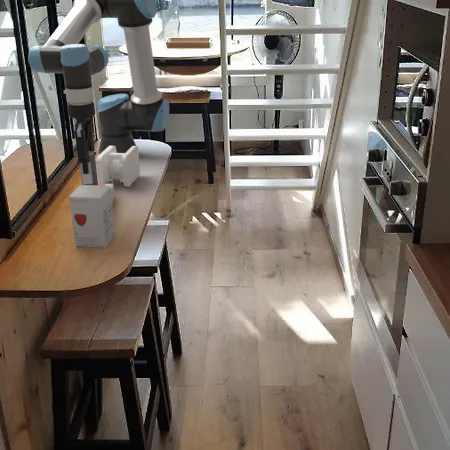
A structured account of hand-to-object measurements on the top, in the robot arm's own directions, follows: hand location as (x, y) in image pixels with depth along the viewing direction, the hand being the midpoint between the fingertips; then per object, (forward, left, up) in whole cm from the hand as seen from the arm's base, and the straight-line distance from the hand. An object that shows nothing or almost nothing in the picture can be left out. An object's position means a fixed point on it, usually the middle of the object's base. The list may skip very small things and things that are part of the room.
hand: (89, 180), depth 180 cm
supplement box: (+5, +16, -12) cm, 21 cm away
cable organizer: (-17, -23, -12) cm, 31 cm away
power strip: (-3, -5, -12) cm, 13 cm away
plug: (0, 0, -2) cm, 2 cm away
